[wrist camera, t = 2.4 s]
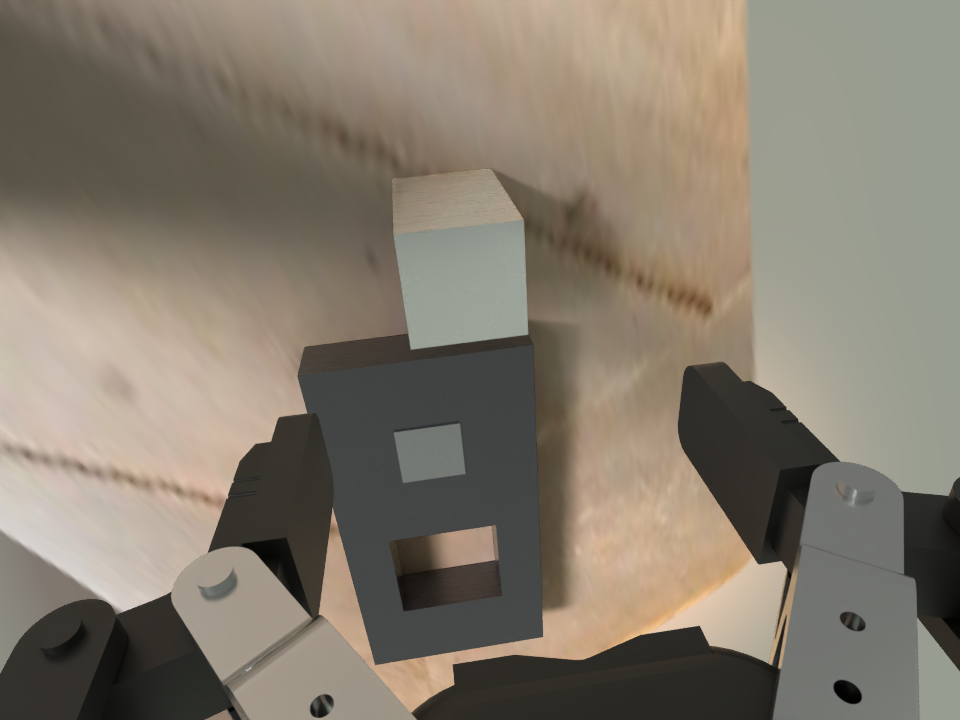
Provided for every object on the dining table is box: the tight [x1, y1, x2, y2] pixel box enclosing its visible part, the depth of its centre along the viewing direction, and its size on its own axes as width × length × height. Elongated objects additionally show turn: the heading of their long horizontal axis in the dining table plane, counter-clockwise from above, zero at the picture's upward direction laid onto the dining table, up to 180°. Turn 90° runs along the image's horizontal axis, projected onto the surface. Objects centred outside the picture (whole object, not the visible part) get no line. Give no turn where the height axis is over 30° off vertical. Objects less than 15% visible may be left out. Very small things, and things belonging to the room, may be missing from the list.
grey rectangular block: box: [392, 168, 528, 350], centre depth 22 cm, size 4×4×7 cm
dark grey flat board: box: [298, 334, 543, 665], centre depth 32 cm, size 10×20×3 cm, turn 4°
